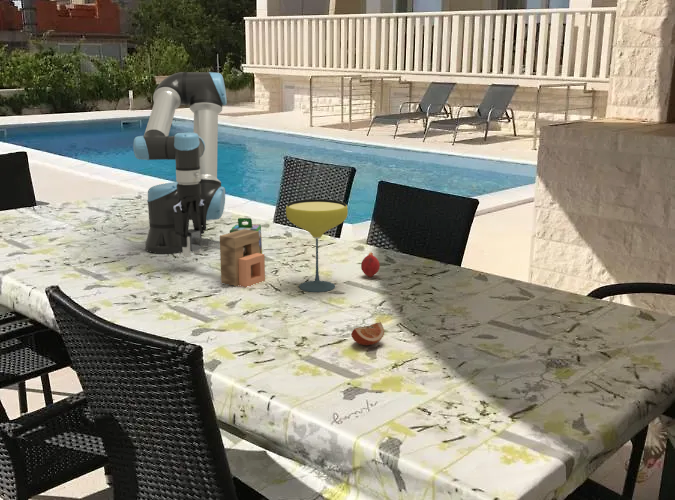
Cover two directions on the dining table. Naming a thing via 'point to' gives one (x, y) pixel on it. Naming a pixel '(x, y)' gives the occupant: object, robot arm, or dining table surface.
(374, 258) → the onion
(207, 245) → the shaft
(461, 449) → the dining table surface
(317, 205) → the cocktail glass
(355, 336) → the fruit slice
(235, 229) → the chalk box
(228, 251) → the bearing block
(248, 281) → the orange boxy part
